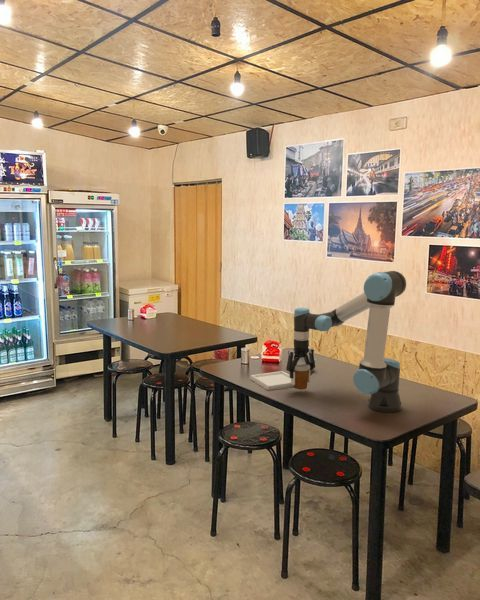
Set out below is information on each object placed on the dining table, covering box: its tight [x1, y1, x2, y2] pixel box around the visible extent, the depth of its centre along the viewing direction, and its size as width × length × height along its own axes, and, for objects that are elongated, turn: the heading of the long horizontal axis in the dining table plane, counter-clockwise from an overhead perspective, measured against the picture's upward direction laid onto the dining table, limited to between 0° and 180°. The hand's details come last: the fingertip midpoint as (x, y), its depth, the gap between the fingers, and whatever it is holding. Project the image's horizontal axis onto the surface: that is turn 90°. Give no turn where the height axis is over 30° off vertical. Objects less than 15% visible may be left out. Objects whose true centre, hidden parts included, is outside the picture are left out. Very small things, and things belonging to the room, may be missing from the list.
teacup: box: [292, 355, 317, 372], centre depth 292 cm, size 14×11×8 cm
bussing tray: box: [250, 370, 294, 392], centre depth 271 cm, size 20×20×2 cm
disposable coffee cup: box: [293, 362, 310, 390], centre depth 254 cm, size 10×10×12 cm
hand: (300, 383), depth 255 cm, fingers closed on disposable coffee cup, 8 cm apart
